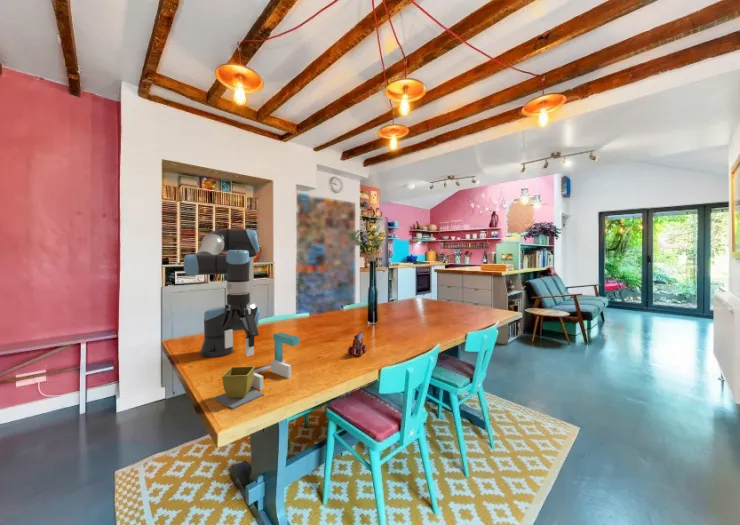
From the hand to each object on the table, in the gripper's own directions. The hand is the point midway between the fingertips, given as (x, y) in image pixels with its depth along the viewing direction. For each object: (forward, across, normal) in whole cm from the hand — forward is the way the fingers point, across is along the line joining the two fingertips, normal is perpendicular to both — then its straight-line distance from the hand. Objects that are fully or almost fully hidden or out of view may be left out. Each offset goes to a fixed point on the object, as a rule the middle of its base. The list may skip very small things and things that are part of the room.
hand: (239, 351), depth 108 cm
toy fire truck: (+18, +7, +62) cm, 64 cm away
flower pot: (+16, 0, 0) cm, 16 cm away
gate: (+16, -9, +28) cm, 34 cm away
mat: (+17, +1, 0) cm, 17 cm away
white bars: (+17, -7, +19) cm, 27 cm away
